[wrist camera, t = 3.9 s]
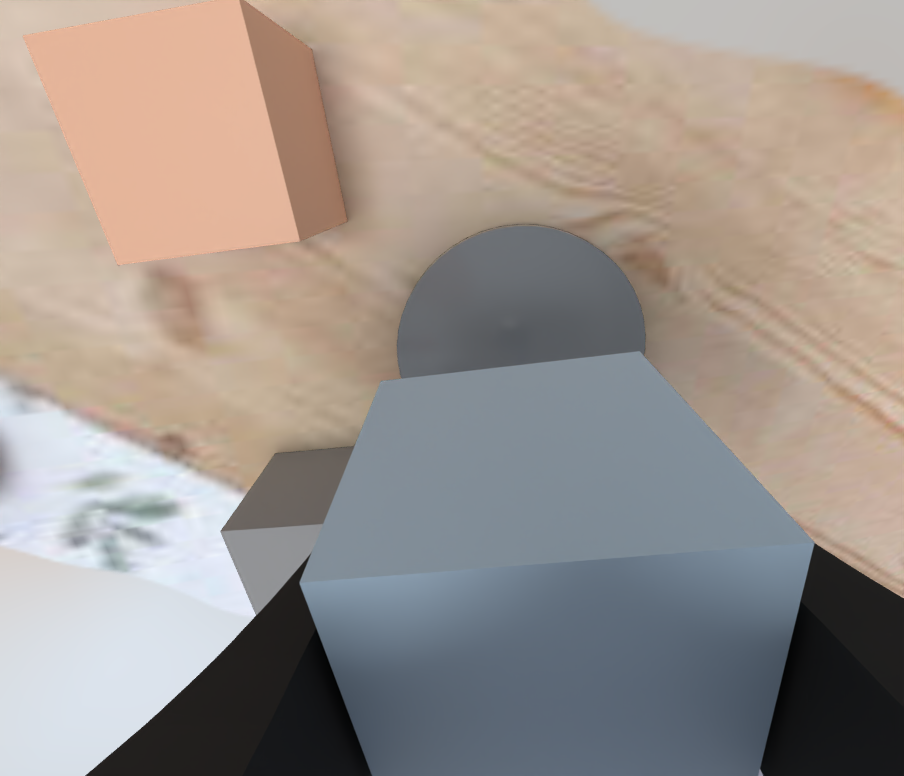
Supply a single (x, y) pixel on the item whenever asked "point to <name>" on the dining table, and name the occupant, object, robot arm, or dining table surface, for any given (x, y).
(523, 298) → the slate coaster
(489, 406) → the blue cube
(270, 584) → the charcoal cube
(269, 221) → the terracotta cube
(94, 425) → the dining table surface
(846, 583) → the robot arm
